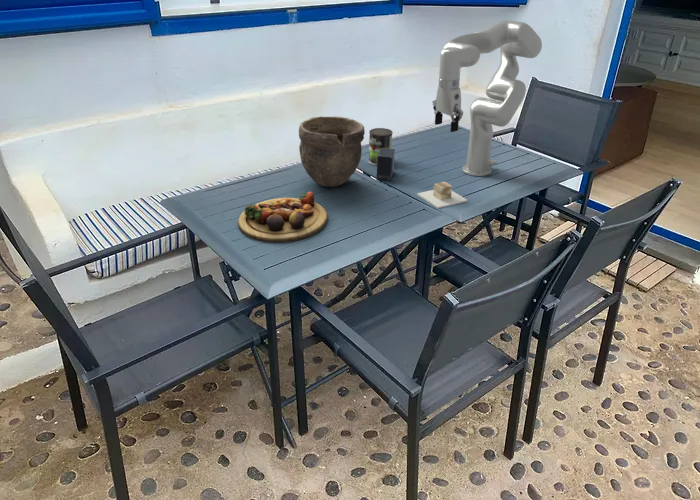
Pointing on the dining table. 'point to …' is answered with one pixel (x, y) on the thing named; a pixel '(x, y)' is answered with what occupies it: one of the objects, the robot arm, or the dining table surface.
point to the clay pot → (330, 148)
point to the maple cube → (442, 190)
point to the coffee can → (378, 142)
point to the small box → (385, 164)
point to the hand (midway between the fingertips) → (446, 127)
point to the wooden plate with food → (283, 219)
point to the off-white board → (441, 203)
